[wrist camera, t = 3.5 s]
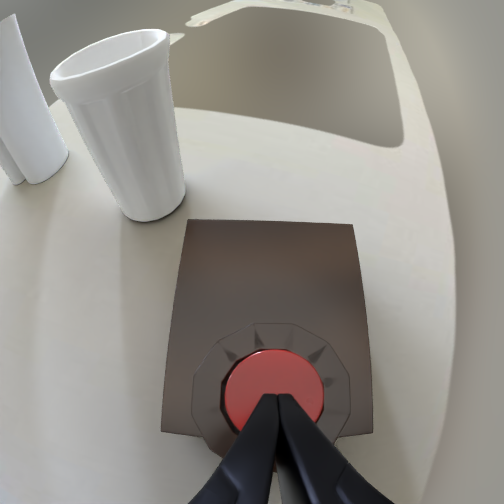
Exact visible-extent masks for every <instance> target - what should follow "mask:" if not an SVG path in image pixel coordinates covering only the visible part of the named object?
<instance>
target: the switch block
mask: <svg viewBox="0 0 504 504" xmlns="http://www.w3.org/2000/svg"><path fill="white" fill-rule="evenodd" d="M273 349H278V350H286V351H290V352H293V353H295V354H298V355H300V356H301V357H303V358H304V359H306V360H307V361H308V362H309V363H310V364H311V365H312V366H313V367H314V368H315V369H316V371H317V372H318V374H319V376H320V378H321V381H322V384H323V388H324V403H323V408H322V411H321V413H320V415H319V417H318V419H317V421H316V422H315V424H316V425H317V426H318V427H319V428H320V430H321V431H322V432H323V433H324V434H325V435H326V437H327V438H328V439H329V440H330V441H331V442H332V444H333V445H334V443H335V441H336V440H337V438H338V437H346V436H354V435H362V434H369V433H373V400H372V376H371V360H370V347H369V336H368V325H367V316H366V307H365V299H364V291H363V284H362V277H361V270H360V264H359V258H358V252H357V246H356V240H355V235H354V229H353V225H352V224H334V223H312V222H286V221H254V220H203V219H188V221H187V227H186V232H185V237H184V243H183V248H182V254H181V260H180V266H179V272H178V278H177V285H176V291H175V298H174V305H173V312H172V320H171V327H170V335H169V343H168V352H167V361H166V371H165V381H164V392H163V404H162V418H161V432H167V433H174V434H181V435H188V436H197V437H203V438H204V440H205V442H206V443H207V445H208V447H209V449H210V450H211V451H212V452H214V453H215V454H217V455H219V456H220V457H222V458H224V457H225V455H226V454H227V452H228V450H229V449H230V447H231V446H232V444H233V443H234V441H235V439H236V438H237V436H238V435H239V433H240V430H239V429H238V428H237V427H236V426H235V425H234V424H233V422H232V421H231V419H230V417H229V415H228V413H227V409H226V405H225V388H226V385H227V382H228V379H229V377H230V375H231V373H232V372H233V370H234V369H235V368H236V366H237V365H238V364H239V363H240V362H242V361H243V360H244V359H246V358H247V357H249V356H251V355H253V354H255V353H257V352H261V351H265V350H273ZM273 472H277V467H276V459H275V461H274V468H273Z"/></svg>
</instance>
